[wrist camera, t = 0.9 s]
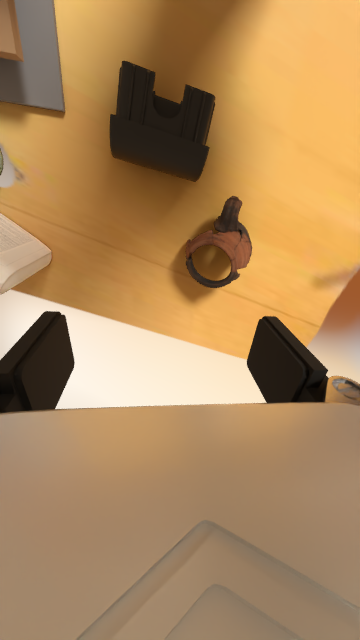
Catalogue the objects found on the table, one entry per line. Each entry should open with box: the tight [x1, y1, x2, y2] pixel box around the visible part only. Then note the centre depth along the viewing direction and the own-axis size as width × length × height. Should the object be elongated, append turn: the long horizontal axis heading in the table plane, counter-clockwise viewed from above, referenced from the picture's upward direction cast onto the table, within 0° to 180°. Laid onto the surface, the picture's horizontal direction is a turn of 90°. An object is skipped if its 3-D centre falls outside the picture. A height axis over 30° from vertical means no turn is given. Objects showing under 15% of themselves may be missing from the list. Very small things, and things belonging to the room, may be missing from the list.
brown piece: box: [186, 196, 252, 288], centre depth 32 cm, size 12×10×8 cm
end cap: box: [110, 61, 215, 182], centre depth 25 cm, size 10×7×7 cm
